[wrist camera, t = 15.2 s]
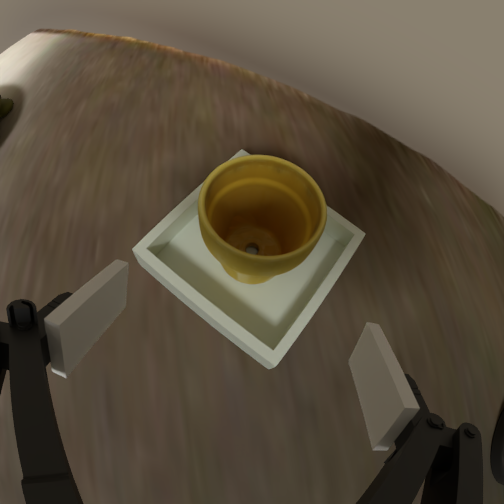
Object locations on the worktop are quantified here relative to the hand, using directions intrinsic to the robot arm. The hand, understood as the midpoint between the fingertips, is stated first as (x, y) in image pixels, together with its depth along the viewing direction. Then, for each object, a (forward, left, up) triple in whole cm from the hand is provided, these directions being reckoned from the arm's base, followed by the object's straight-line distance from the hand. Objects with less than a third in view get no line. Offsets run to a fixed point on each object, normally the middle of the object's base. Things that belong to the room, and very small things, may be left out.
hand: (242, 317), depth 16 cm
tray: (+4, -9, -15) cm, 18 cm away
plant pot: (+5, -9, -14) cm, 18 cm away
